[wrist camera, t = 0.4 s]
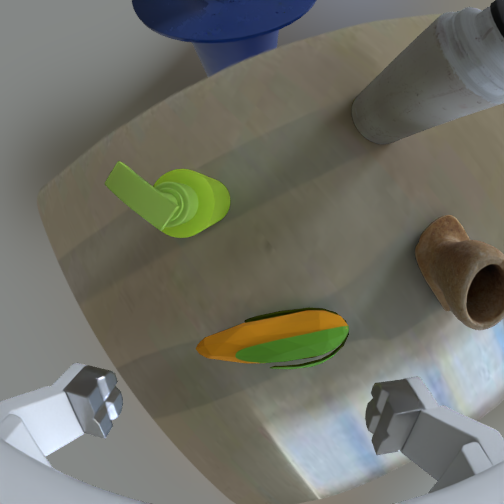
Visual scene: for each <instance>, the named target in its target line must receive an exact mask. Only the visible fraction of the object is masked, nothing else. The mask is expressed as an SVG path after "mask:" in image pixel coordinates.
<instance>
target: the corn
mask: <svg viewBox="0 0 504 504" xmlns="http://www.w3.org/2000/svg"><path fill="white" fill-rule="evenodd" d="M347 334H348V335H349V326H348V325H347V323H346V321H345V320H344V319H343V318H342V317H341V316H340V315H338V314H337V313H336V312H333V311H329V310H326V309H323V308H303V309H294V310H286V311H279V312H274V313H269V314H265V315H260V316H256V317H253V318H249V319H247V320H245V323H242V324H240V325H237V326H234V327H232V328H229V329H227V330H224V331H221V332H219V333H216V334H213V335H210V336H208V337H205V338H204V339H203V340H202V341H201V342H200V343H199V344H198V345H197V347H196V350H197V351H198V353H199V354H201V355H202V356H204V357H206V358H210V359H217V360H224V361H232V362H240V363H271V362H285V361H291V360H297V359H305V358H313V357H316V356H319V355H323V354H325V353H327V352H329V351H331V350H333V349H335V348H336V347H337V346H339V345H340V344H341V343H342V344H341V345H340V346H339V347H338V348H337V349H336V350H334V351H333V352H332V353H331V354H329V355H327V356H325V357H324V358H322V359H319V360H315V361H311V362H307V363H303V364H298V365H288V366H273V367H270V368H272V369H297V368H305V367H312V366H315V365H318V364H321V363H323V362H325V361H326V360H328V359H330V358H331V357H333V356H334V355H335V354H336V353H337V352H338V351H339V350H340V349H341V348H342V347H343V346H344V344H345V342H346V339H347V337H348V335H347Z"/></svg>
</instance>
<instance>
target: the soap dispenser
mask: <svg viewBox="0 0 504 504" xmlns="http://www.w3.org/2000/svg"><path fill="white" fill-rule="evenodd" d="M105 185H106V186H107V187H108V188H109V189H110V190H111V191H112V192H113V193H114V194H115V195H116V196H117V197H118V198H119V199H120V200H121V201H123V202H124V203H125V204H126V205H127V206H129V207H130V208H131V209H132V210H134V211H135V212H136V213H137V214H139V215H140V216H141V217H143V218H144V219H145V220H147V221H148V222H149V223H151V224H152V225H153V226H155V227H156V228H157V229H159V230H160V231H162V232H163V233H165V234H167V235H169V236H172V237H176V238H186V237H190V236H193V235H195V234H197V233H199V232H201V231H203V230H204V229H206V228H208V227H210V226H211V225H213V224H215V223H217V222H218V221H220V220H221V219H223V218H224V217H225V215H226V214H227V212H228V210H229V207H230V195H229V192H228V190H227V188H226V187H225V186H224V185H223V184H222V183H221V182H219V181H217V180H215V179H213V178H210V177H207V176H205V175H202V174H200V173H197V172H195V171H192V170H188V169H176V170H172V171H170V172H167V173H166V174H164V175H163V176H161V177H160V178H159V179H158V180H157V181H156V183H155V184H154V186H152V185H150V184H149V183H148V182H146V181H145V180H144V179H143V178H141V177H140V176H139V175H137V174H136V173H135V172H134V171H132V170H131V169H130V168H129V167H128V166H127V165H125V164H124V163H122V162H120V161H118V162H117V164H116V165H115V167H114V168H113V170H112V172H111V173H110V175H109V177H108V178H107V180H106V182H105Z"/></svg>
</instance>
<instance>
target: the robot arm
mask: <svg viewBox="0 0 504 504" xmlns="http://www.w3.org/2000/svg"><path fill="white" fill-rule="evenodd" d="M116 383H117V378H116V375H115V373H113V372H112V371H109V370H105V369H101V368H97V367H93V366H88V365H84V364H80V363H73V364H72V365H71V366H70V367H69V369H67V370H66V371H65V372H64V373H63V374H62V375H61V377H59V379H57V381H56V382H55V383H54V384H53V385H52V386H51V387H49V386H45V387H42V388H39V389H36V390H33V391H31V392H27V393H24V394H21V395H18V396H15V397H12V398H9V399H5V400H2V401H0V504H151V503H147V502H143V501H139V500H136V499H132V498H129V497H125V496H122V495H119V494H116V493H113V492H110V491H107V490H104V489H101V488H99V487H96V486H93V485H90V484H88V483H86V482H83V481H81V480H78V479H76V478H74V477H71V476H69V475H67V474H65V473H62V472H60V471H58V470H56V469H54V468H52V465H51V464H50V462H49V461H48V460H47V458H46V457H45V456H47V455H49V454H51V453H52V452H54V451H56V450H57V449H59V448H61V447H62V446H64V445H66V444H68V443H69V442H71V441H73V440H75V439H76V438H78V437H80V436H81V435H83V434H84V433H87V434H91V435H94V436H98V437H101V438H106V437H107V435H108V433H109V432H110V430H111V428H112V427H113V424H112V420H113V419H115V418H117V417H118V416H119V415H120V413H121V411H122V406H123V398H122V394H121V391H120V390H119V389H118V388H117V387H116V386H115V385H116ZM371 394H372V396H373V399H372V400H371V401H370V402H369V403H368V405H367V408H366V418H365V419H366V425H367V428H368V431H370V432H371V433H373V434H374V435H373V437H372V443H373V446H374V449H375V452H376V455H380V454H386V453H392V452H398V451H401V452H402V453H403V454H404V455H405V456H407V457H408V458H409V459H410V460H412V461H413V462H414V463H415V464H417V465H418V466H419V467H420V468H422V469H423V470H424V471H426V472H427V473H428V474H429V475H431V476H432V477H433V478H435V479H436V480H437V481H438V482H437V483H436V484H435V485H434V487H433V488H432V489H431V490H430V491H429V493H428V494H425V495H422V496H419V497H415V498H412V499H409V500H405V501H401V502H398V503H394V504H504V439H503V437H502V436H501V434H500V433H499V432H498V430H495V429H493V428H491V427H489V426H486V425H484V424H482V423H480V422H478V421H476V420H473V419H471V418H469V417H467V416H465V415H463V414H461V413H458V412H456V411H454V410H452V409H450V408H448V407H446V406H444V405H442V406H439V405H438V403H437V402H436V400H435V399H434V397H433V396H432V394H431V393H430V391H429V390H428V388H427V387H426V385H425V384H424V382H423V381H422V379H421V378H420V377H418V376H417V377H411V378H405V379H401V380H394V381H387V382H379V383H375V384H374V386H373V388H372V391H371Z"/></svg>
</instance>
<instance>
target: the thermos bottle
mask: <svg viewBox="0 0 504 504" xmlns="http://www.w3.org/2000/svg"><path fill="white" fill-rule="evenodd" d="M502 103H504V0H495V1H494V2H493V3H491V6H490V7H487V8H486V9H484V10H483V11H482V10H479V9H477V8H473V7H467V8H465V9H463V10H461V11H457V12H447V13H444V14H442V15H441V16H439V17H438V18H437V19H436V20H435V21H434V22H433V23H432V24H431V25H430V26H429V27H428V28H426V29H425V30H424V31H423V32H422V33H421V34H420V35H419V36H418V37H417V38H416V39H415V40H414V41H413V42H412V43H411V44H410V45H409V46H408V47H407V48H405V49H404V50H403V51H402V52H401V53H400V54H399V55H398V56H397V57H396V58H395V59H394V60H393V61H392V62H391V63H390V64H389V65H388V66H387V67H386V68H385V69H384V70H383V71H382V72H381V73H380V74H379V75H378V76H377V77H376V78H375V79H374V80H373V81H372V82H371V83H370V84H369V85H368V86H367V87H366V88H365V89H364V90H363V91H362V92H361V93H360V94H359V95H358V96H357V97H356V99H355V100H354V102H353V105H352V118H353V121H354V124H355V126H356V128H357V129H358V131H359V132H360V133H361V134H362V135H363V136H364V137H365V138H366V139H368V140H370V141H372V142H374V143H377V144H389V143H392V142H395V141H398V140H400V139H402V138H405V137H408V136H410V135H413V134H416V133H418V132H421V131H424V130H427V129H429V128H432V127H435V126H437V125H440V124H443V123H446V122H449V121H451V120H454V119H457V118H460V117H463V116H466V115H469V114H472V113H475V112H478V111H481V110H484V109H487V108H490V107H493V106H496V105H499V104H502Z"/></svg>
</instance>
